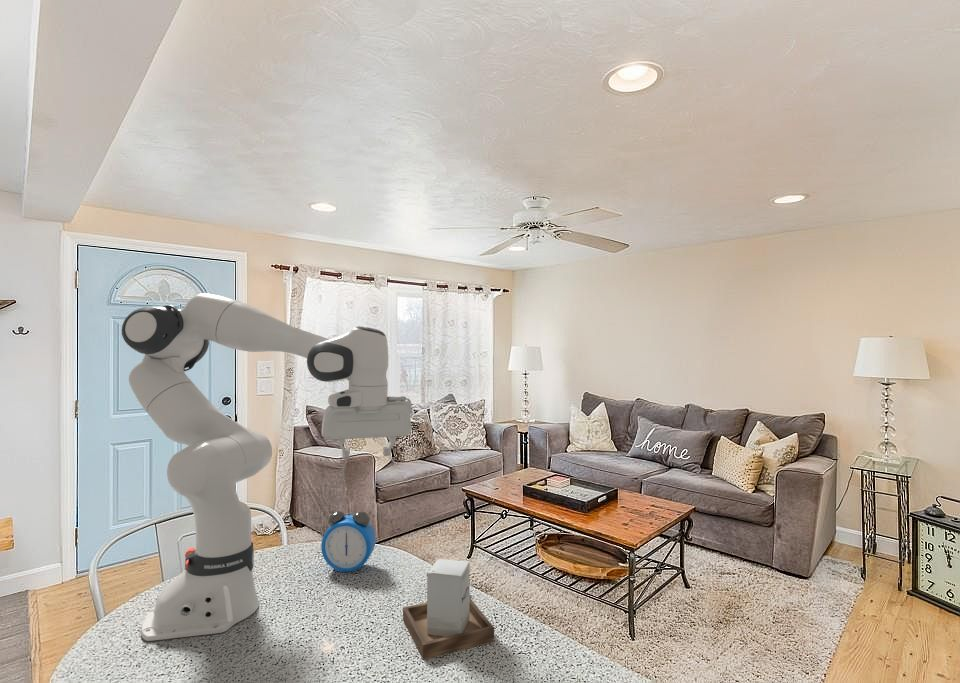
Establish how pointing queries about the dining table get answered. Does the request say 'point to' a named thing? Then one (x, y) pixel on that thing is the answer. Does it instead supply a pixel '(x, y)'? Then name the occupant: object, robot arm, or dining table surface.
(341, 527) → the alarm clock
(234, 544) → the robot arm
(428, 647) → the tray
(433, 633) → the supplement box
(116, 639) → the dining table surface
